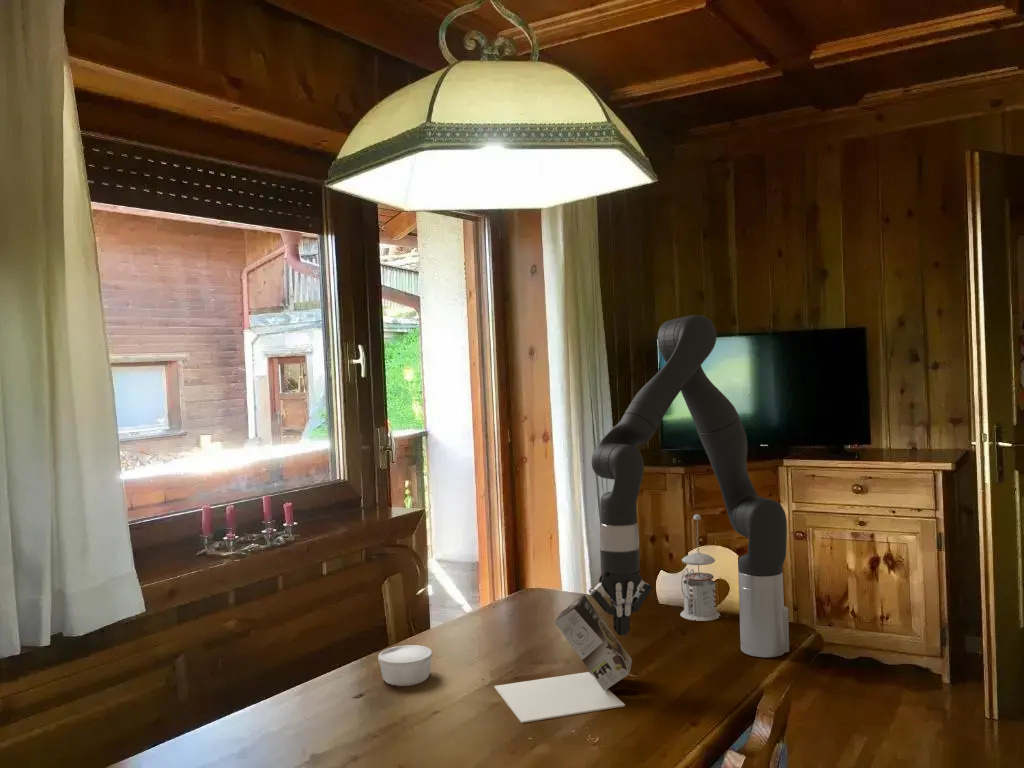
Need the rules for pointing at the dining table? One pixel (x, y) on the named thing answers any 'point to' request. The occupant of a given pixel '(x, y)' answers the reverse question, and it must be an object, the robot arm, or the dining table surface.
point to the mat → (557, 697)
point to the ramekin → (405, 664)
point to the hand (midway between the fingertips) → (621, 634)
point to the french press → (699, 588)
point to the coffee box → (594, 643)
